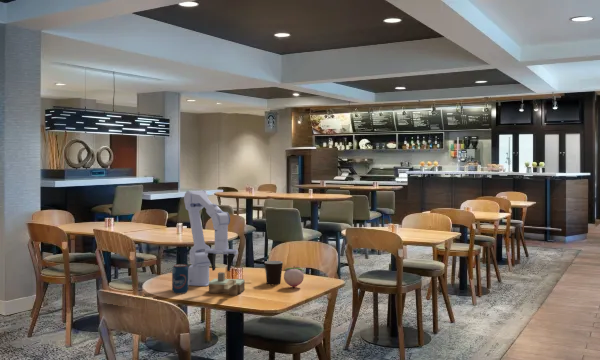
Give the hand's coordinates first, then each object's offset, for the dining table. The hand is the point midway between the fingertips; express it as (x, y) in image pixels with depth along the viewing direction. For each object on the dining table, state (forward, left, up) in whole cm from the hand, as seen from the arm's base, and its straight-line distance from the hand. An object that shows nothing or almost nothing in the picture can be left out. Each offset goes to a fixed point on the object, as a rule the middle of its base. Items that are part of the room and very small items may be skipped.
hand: (221, 270), depth 255 cm
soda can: (-18, -4, -10) cm, 20 cm away
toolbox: (+2, 0, -9) cm, 10 cm away
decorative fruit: (+30, +13, -10) cm, 35 cm away
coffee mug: (+19, +22, -10) cm, 31 cm away
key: (+7, -12, -4) cm, 14 cm away
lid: (+3, 0, -6) cm, 6 cm away
